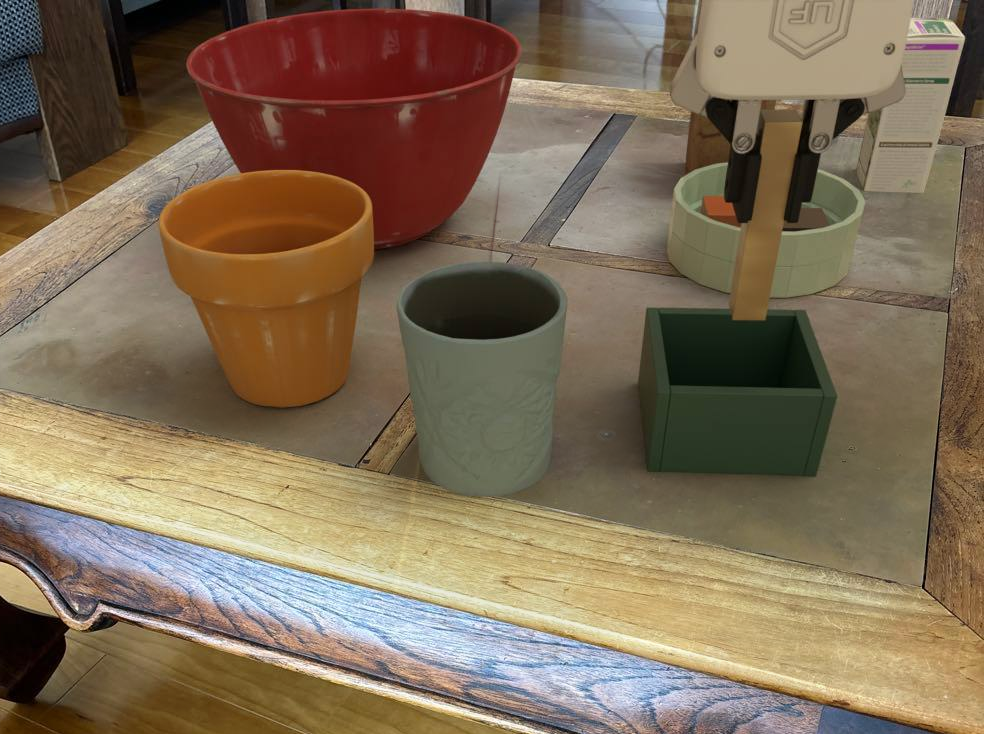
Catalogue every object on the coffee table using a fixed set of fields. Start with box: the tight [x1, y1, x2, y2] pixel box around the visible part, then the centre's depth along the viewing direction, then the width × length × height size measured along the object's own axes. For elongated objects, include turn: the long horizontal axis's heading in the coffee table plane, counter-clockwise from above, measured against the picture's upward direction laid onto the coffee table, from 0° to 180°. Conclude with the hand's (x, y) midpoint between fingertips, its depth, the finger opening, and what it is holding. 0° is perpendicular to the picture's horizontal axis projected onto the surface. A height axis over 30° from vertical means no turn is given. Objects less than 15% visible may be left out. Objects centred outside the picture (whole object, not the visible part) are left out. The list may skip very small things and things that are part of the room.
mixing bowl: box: [185, 8, 523, 250], centre depth 92 cm, size 28×28×15 cm
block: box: [684, 100, 777, 176], centre depth 95 cm, size 11×8×20 cm
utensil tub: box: [637, 307, 838, 478], centre depth 67 cm, size 11×11×7 cm
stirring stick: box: [728, 108, 803, 320], centre depth 60 cm, size 2×2×12 cm
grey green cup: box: [395, 261, 568, 498], centre depth 64 cm, size 10×10×12 cm
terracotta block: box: [700, 196, 742, 228], centre depth 88 cm, size 4×4×4 cm
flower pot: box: [157, 170, 375, 408], centre depth 72 cm, size 14×14×13 cm
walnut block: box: [782, 208, 830, 232], centre depth 86 cm, size 4×4×4 cm
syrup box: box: [855, 17, 966, 194], centre depth 95 cm, size 6×6×14 cm
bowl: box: [666, 162, 866, 299], centre depth 87 cm, size 15×15×6 cm
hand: (764, 211), depth 59 cm, fingers closed on stirring stick, 2 cm apart
